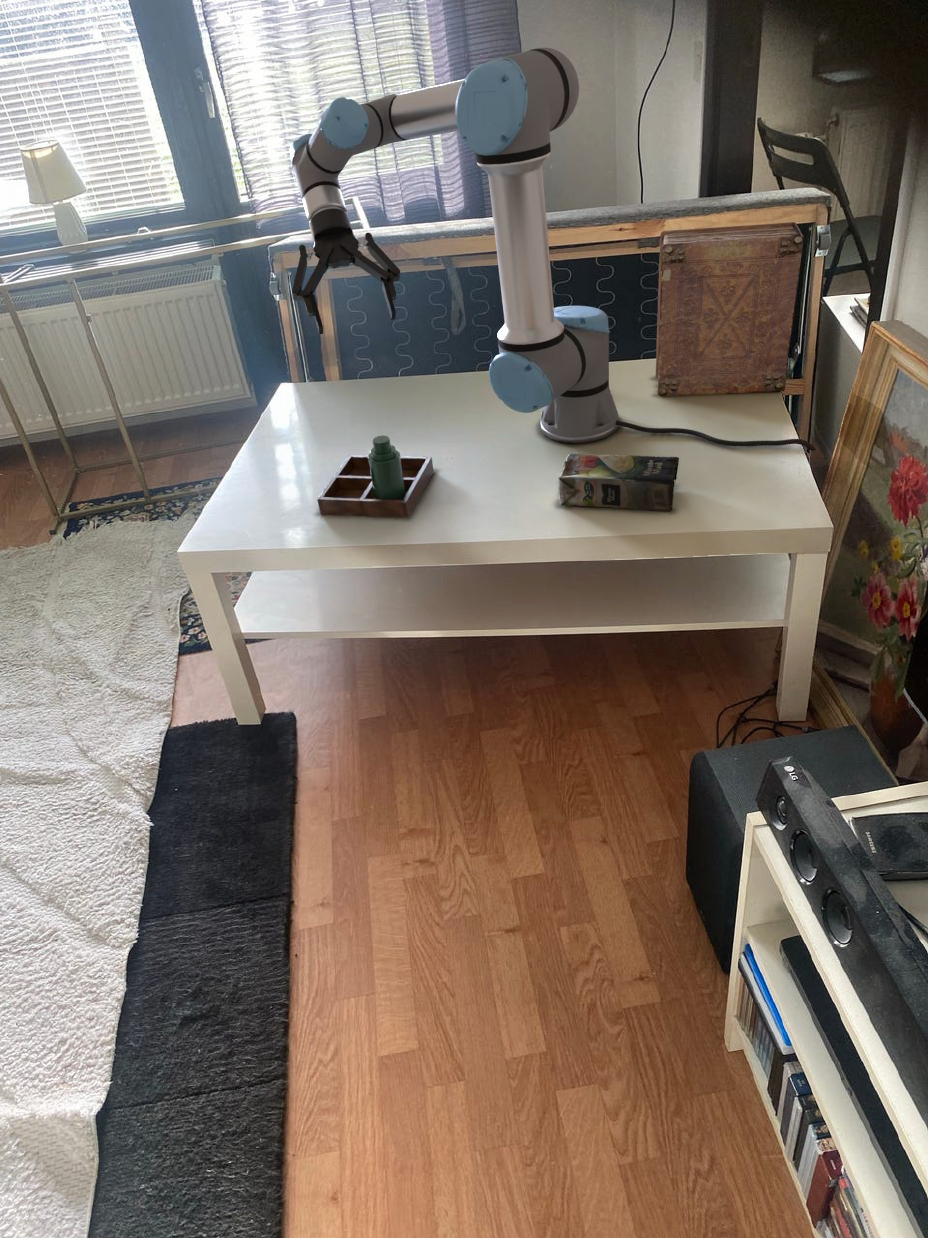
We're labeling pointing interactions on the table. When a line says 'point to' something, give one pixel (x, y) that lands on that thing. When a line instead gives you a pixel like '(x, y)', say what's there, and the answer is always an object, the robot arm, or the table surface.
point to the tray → (356, 491)
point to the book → (726, 308)
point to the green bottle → (386, 470)
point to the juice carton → (618, 481)
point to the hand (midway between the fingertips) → (357, 323)
